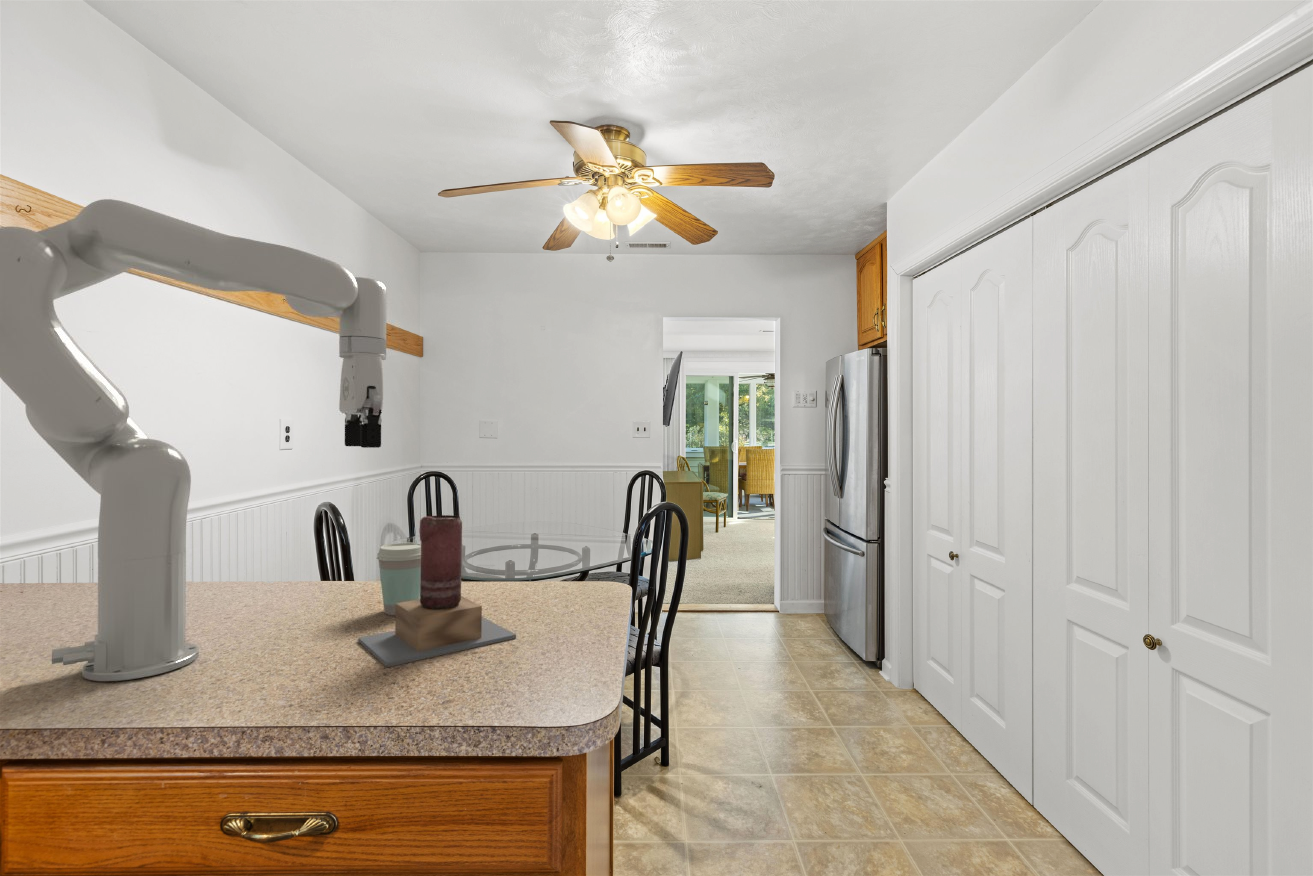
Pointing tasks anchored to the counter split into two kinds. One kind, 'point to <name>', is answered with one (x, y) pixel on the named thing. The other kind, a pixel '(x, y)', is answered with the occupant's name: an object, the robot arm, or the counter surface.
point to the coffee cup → (399, 573)
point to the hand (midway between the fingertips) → (362, 446)
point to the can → (440, 561)
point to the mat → (399, 652)
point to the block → (437, 624)
